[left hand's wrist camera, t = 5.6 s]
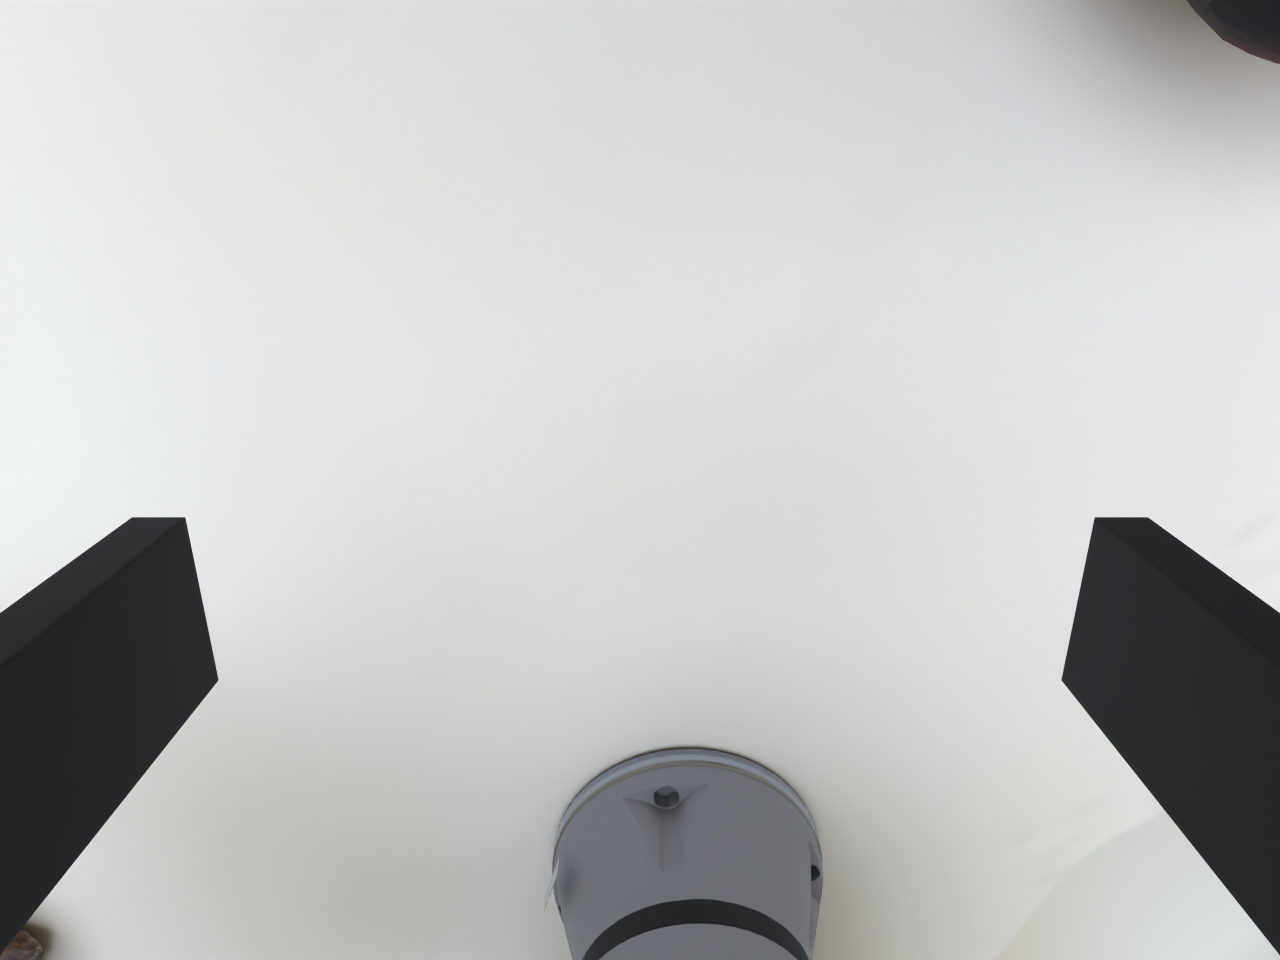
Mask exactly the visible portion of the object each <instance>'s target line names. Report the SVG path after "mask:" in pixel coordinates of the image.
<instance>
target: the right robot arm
mask: <svg viewBox="0 0 1280 960" xmlns="http://www.w3.org/2000/svg"><path fill="white" fill-rule="evenodd" d="M822 885H823V871H822V857H821V851H820V846H819V842H818V838H817V834H816V830H815V827H814V824H813V821H812V818H811V816H810V814H809V812H808V810H807V808H806V806H805V805H804V803H803V802H802V800H801V799H800V798H799V796H798V795H797V794H796V793H795V792H794V790H793V789H792V788H791V787H789V786H788V785H787V784H786V783H785V782H784V781H783V780H782V779H780V778H779V777H778V776H776V775H775V774H774V773H772V772H770V771H769V770H767V769H766V768H764V767H762V766H760V765H758V764H756V763H754V762H752V761H749V760H746V759H744V758H741V757H738V756H735V755H731V754H728V753H723V752H718V751H711V750H703V749H674V750H666V751H659V752H654V753H650V754H646V755H642V756H639V757H636V758H633V759H630V760H628V761H625V762H623V763H621V764H619V765H617V766H615V767H613V768H611V769H609V770H608V771H606V772H604V773H603V774H601V775H600V776H598V777H597V778H596V779H594V780H593V781H592V782H590V783H589V784H588V785H587V786H586V787H585V788H584V789H583V790H582V791H581V792H580V793H579V794H578V795H577V796H576V798H575V799H574V800H573V802H572V803H571V804H570V806H569V807H568V809H567V811H566V813H565V814H564V816H563V818H562V821H561V823H560V826H559V829H558V832H557V836H556V842H555V849H554V857H553V876H552V879H551V882H550V885H549V888H548V891H547V894H546V900H545V908H546V905H547V902H548V899H549V896H550V893H551V890H552V887H554V895H555V900H556V904H557V907H558V910H559V913H560V916H561V918H562V921H563V923H564V926H565V931H566V935H567V939H568V943H569V948H570V951H571V955H572V959H573V960H812V953H813V947H814V940H815V933H816V927H817V920H818V913H819V903H820V899H821V893H822ZM545 908H544V911H545Z"/></svg>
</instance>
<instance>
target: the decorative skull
mask: <svg viewBox="0 0 1280 960" xmlns="http://www.w3.org/2000/svg"><path fill="white" fill-rule="evenodd" d="M1187 1H1188V2H1189V3H1190V5H1191V6H1192V8H1193V9H1194V10H1195V12H1196V13H1197V14H1198V15H1199V16H1200V17H1201V18H1202V19H1203V20H1204V21H1205V22H1206V23H1207V24H1208V25H1209V26H1210V27H1211V28H1212V29H1213V30H1214V31H1215V32H1216V33H1217V34H1218V35H1219V36H1220V37H1221V38H1222V39H1223V40H1225V41H1227V42H1229V43H1230V44H1232V45H1234V46H1236V47H1238V48H1240V49H1242V50H1244V51H1245V52H1247V53H1249V54H1252V55H1254V56H1257V57H1260V58H1263V59H1266V60H1269V61H1272V62H1275V63H1278V64H1280V0H1187Z"/></svg>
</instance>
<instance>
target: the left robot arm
mask: <svg viewBox="0 0 1280 960" xmlns="http://www.w3.org/2000/svg"><path fill="white" fill-rule="evenodd" d="M217 681H218V676H217V671H216V666H215V661H214V656H213V651H212V646H211V641H210V636H209V632H208V627H207V622H206V617H205V612H204V607H203V602H202V597H201V592H200V587H199V583H198V578H197V573H196V568H195V563H194V558H193V553H192V548H191V543H190V539H189V534H188V529H187V524H186V519H185V517H132V518H131V519H129V520H128V521H127V522H125V523H124V524H122V525H121V526H120V527H118V528H117V529H116V530H114V531H113V532H111V533H110V534H109V535H107V536H106V537H105V538H103V539H102V540H100V541H99V542H98V543H96V544H95V545H93V546H92V547H91V548H89V549H88V550H87V551H85V552H84V553H82V554H81V555H80V556H78V557H77V558H76V559H74V560H73V561H71V562H70V563H69V564H67V565H66V566H65V567H63V568H62V569H60V570H59V571H58V572H56V573H55V574H53V575H52V576H51V577H49V578H48V579H47V580H45V581H44V582H42V583H41V584H40V585H38V586H37V587H36V588H34V589H33V590H31V591H30V592H29V593H27V594H26V595H25V596H23V597H22V598H20V599H19V600H18V601H16V602H15V603H13V604H12V605H11V606H9V607H8V608H7V609H5V610H4V611H2V612H1V613H0V955H1V953H2V952H3V951H4V950H5V948H6V947H7V946H8V945H9V943H10V942H11V941H12V940H13V938H14V937H15V936H16V935H17V933H18V932H19V931H20V929H21V928H22V927H23V926H24V924H25V923H26V922H27V921H28V919H29V918H30V917H31V916H32V914H33V913H34V912H35V911H36V909H37V908H38V907H39V906H40V904H41V903H42V902H43V901H44V899H45V898H46V897H47V895H48V894H49V893H50V892H51V890H52V889H53V888H54V887H55V885H56V884H57V883H58V882H59V880H60V879H61V878H62V877H63V875H64V874H65V873H66V872H67V870H68V869H69V868H70V866H71V865H72V864H73V863H74V861H75V860H76V859H77V858H78V856H79V855H80V854H81V853H82V851H83V850H84V849H85V848H86V846H87V845H88V844H89V843H90V841H91V840H92V839H93V838H94V836H95V835H96V834H97V832H98V831H99V830H100V829H101V827H102V826H103V825H104V824H105V822H106V821H107V820H108V819H109V817H110V816H111V815H112V814H113V812H114V811H115V810H116V809H117V807H118V806H119V805H120V804H121V802H122V801H123V800H124V798H125V797H126V796H127V795H128V793H129V792H130V791H131V790H132V788H133V787H134V786H135V785H136V783H137V782H138V781H139V780H140V778H141V777H142V776H143V775H144V773H145V772H146V771H147V770H148V768H149V767H150V766H151V764H152V763H153V762H154V761H155V759H156V758H157V757H158V756H159V754H160V753H161V752H162V751H163V749H164V748H165V747H166V746H167V744H168V743H169V742H170V741H171V739H172V738H173V737H174V736H175V734H176V733H177V732H178V730H179V729H180V728H181V727H182V725H183V724H184V723H185V722H186V720H187V719H188V718H189V717H190V715H191V714H192V713H193V712H194V710H195V709H196V708H197V707H198V705H199V704H200V703H201V702H202V700H203V699H204V698H205V696H206V695H207V694H208V693H209V691H210V690H211V689H212V688H213V686H214V685H215V684H216V683H217ZM1062 681H1063V683H1064V684H1065V685H1066V686H1067V688H1068V689H1069V690H1070V691H1071V693H1072V694H1073V695H1074V696H1075V698H1076V699H1077V700H1078V702H1079V703H1080V704H1081V705H1082V707H1083V708H1084V709H1085V710H1086V712H1087V713H1088V714H1089V715H1090V717H1091V718H1092V719H1093V720H1094V722H1095V723H1096V724H1097V725H1098V727H1099V728H1100V729H1101V730H1102V732H1103V733H1104V734H1105V736H1106V737H1107V738H1108V739H1109V741H1110V742H1111V743H1112V744H1113V746H1114V747H1115V748H1116V749H1117V751H1118V752H1119V753H1120V754H1121V756H1122V757H1123V758H1124V759H1125V761H1126V762H1127V763H1128V764H1129V766H1130V767H1131V768H1132V770H1133V771H1134V772H1135V773H1136V775H1137V776H1138V777H1139V778H1140V780H1141V781H1142V782H1143V783H1144V785H1145V786H1146V787H1147V788H1148V790H1149V791H1150V792H1151V793H1152V795H1153V796H1154V797H1155V798H1156V800H1157V801H1158V802H1159V804H1160V805H1161V806H1162V807H1163V809H1164V810H1165V811H1166V812H1167V814H1168V815H1169V816H1170V817H1171V819H1172V820H1173V821H1174V822H1175V824H1176V825H1177V826H1178V827H1179V829H1180V830H1181V831H1182V832H1183V834H1184V835H1185V836H1186V837H1187V839H1188V840H1189V841H1190V843H1191V844H1192V845H1193V846H1194V848H1195V849H1196V850H1197V851H1198V853H1199V854H1200V855H1201V856H1202V858H1203V859H1204V860H1205V861H1206V863H1207V864H1208V865H1209V867H1210V868H1211V869H1212V870H1213V872H1214V873H1215V874H1216V875H1217V877H1218V878H1219V879H1220V880H1221V882H1222V883H1223V884H1224V885H1225V887H1226V888H1227V889H1228V890H1229V892H1230V893H1231V894H1232V895H1233V897H1234V898H1235V899H1236V900H1237V902H1238V903H1239V904H1240V906H1241V907H1242V908H1243V909H1244V911H1245V912H1246V913H1247V914H1248V916H1249V917H1250V918H1251V919H1252V921H1253V922H1254V923H1255V924H1256V926H1257V927H1258V928H1259V929H1260V931H1261V932H1262V933H1263V934H1264V936H1265V937H1266V938H1267V940H1268V941H1269V942H1270V943H1271V945H1272V946H1273V947H1274V948H1275V950H1276V951H1277V952H1278V953H1279V955H1280V613H1279V612H1278V611H1276V610H1275V609H1273V608H1272V607H1271V606H1269V605H1268V604H1267V603H1265V602H1264V601H1262V600H1261V599H1260V598H1258V597H1257V596H1255V595H1254V594H1253V593H1251V592H1250V591H1249V590H1247V589H1246V588H1244V587H1243V586H1242V585H1240V584H1239V583H1238V582H1236V581H1235V580H1233V579H1232V578H1231V577H1229V576H1228V575H1227V574H1225V573H1224V572H1222V571H1221V570H1220V569H1218V568H1217V567H1215V566H1214V565H1213V564H1211V563H1210V562H1209V561H1207V560H1206V559H1204V558H1203V557H1202V556H1200V555H1199V554H1198V553H1196V552H1195V551H1193V550H1192V549H1191V548H1189V547H1188V546H1187V545H1185V544H1184V543H1182V542H1181V541H1180V540H1178V539H1177V538H1175V537H1174V536H1173V535H1171V534H1170V533H1169V532H1167V531H1166V530H1164V529H1163V528H1162V527H1160V526H1159V525H1158V524H1156V523H1155V522H1153V521H1152V520H1151V519H1149V518H1148V517H1095V519H1094V524H1093V529H1092V534H1091V539H1090V543H1089V548H1088V553H1087V558H1086V563H1085V568H1084V573H1083V578H1082V583H1081V587H1080V592H1079V597H1078V602H1077V607H1076V612H1075V617H1074V622H1073V627H1072V631H1071V636H1070V641H1069V646H1068V651H1067V656H1066V661H1065V666H1064V671H1063V676H1062Z"/></svg>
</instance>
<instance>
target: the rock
mask: <svg viewBox="0 0 1280 960" xmlns="http://www.w3.org/2000/svg"><path fill="white" fill-rule="evenodd" d="M42 955H43V949H42V946H41V944H40V943H39V942H38V940H37V939H35V938H33V937H31V935H30V934H29V933H28V932H26V931H21V930H20V931H19V932H18V933H17V935H16V936H15V937H14V938H13V940H12V941H11V942H10V943H9V945H8V946H7V947H6V948H5V950H4V951H3V952H2V953H1V955H0V960H41V959H42Z"/></svg>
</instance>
